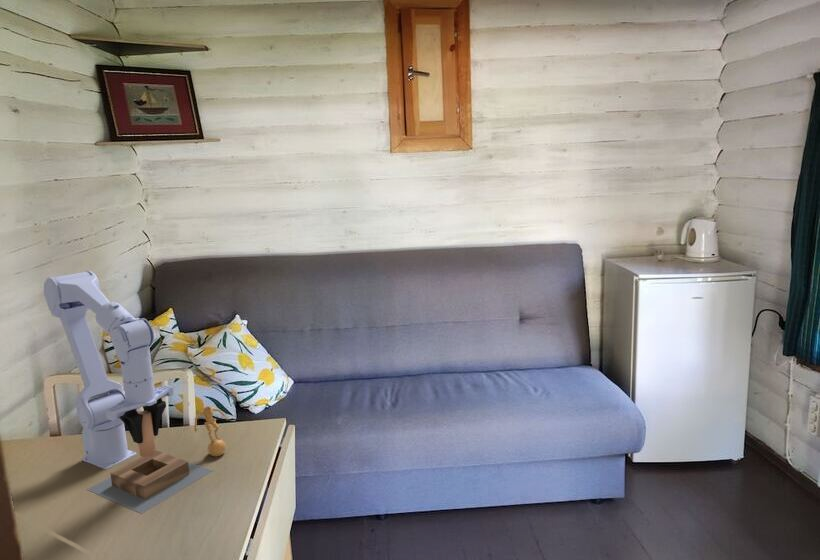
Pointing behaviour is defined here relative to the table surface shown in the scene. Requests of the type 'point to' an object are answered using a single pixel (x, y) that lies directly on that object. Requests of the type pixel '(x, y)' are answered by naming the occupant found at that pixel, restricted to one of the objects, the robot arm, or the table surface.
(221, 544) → the table surface
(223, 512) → the table surface
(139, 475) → the square frame
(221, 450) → the figurine
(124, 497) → the mat
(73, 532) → the table surface
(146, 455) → the dowel
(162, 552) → the table surface
